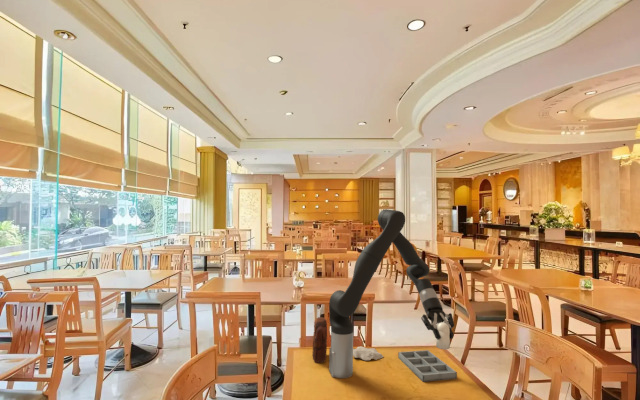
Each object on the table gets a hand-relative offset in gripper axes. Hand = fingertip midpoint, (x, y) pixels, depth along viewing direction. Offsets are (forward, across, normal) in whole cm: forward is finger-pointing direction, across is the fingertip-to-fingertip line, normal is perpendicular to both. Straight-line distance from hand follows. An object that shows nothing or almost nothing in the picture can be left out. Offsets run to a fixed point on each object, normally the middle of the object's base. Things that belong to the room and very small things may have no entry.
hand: (445, 338), depth 137 cm
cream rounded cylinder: (+2, 0, +4) cm, 5 cm away
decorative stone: (-6, -25, +29) cm, 39 cm away
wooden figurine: (-7, -47, +30) cm, 56 cm away
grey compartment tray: (+5, -4, +18) cm, 19 cm away
